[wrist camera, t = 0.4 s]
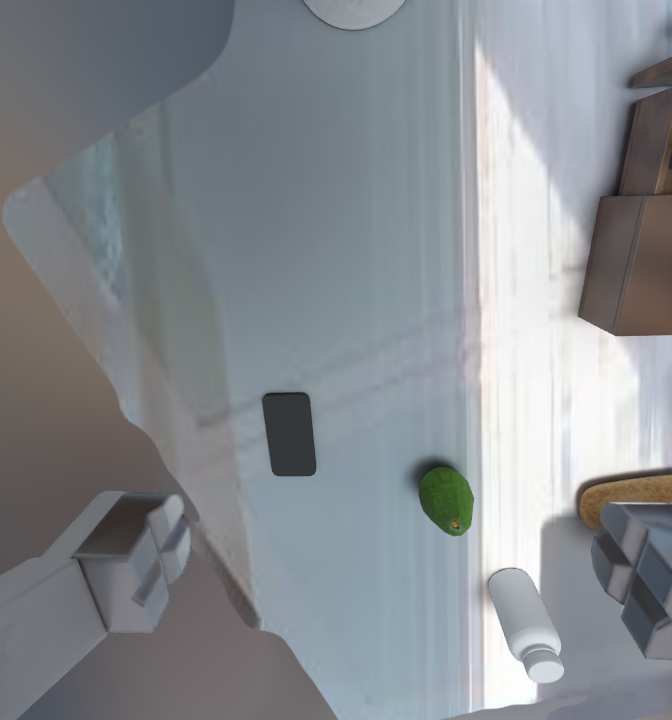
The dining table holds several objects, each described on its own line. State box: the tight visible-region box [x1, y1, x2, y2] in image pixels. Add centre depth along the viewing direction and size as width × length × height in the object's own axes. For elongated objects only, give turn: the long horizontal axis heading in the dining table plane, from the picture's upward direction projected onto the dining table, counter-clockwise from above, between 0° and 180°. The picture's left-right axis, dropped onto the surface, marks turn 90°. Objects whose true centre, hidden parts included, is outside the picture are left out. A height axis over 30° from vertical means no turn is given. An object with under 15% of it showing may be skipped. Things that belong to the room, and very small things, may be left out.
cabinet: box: [578, 194, 672, 336], centre depth 46 cm, size 15×13×9 cm
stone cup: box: [579, 475, 672, 530], centre depth 57 cm, size 15×12×15 cm
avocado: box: [419, 467, 474, 536], centre depth 59 cm, size 8×8×12 cm
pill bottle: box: [489, 569, 564, 683], centre depth 65 cm, size 8×8×15 cm
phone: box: [263, 393, 316, 476], centre depth 63 cm, size 7×1×15 cm
